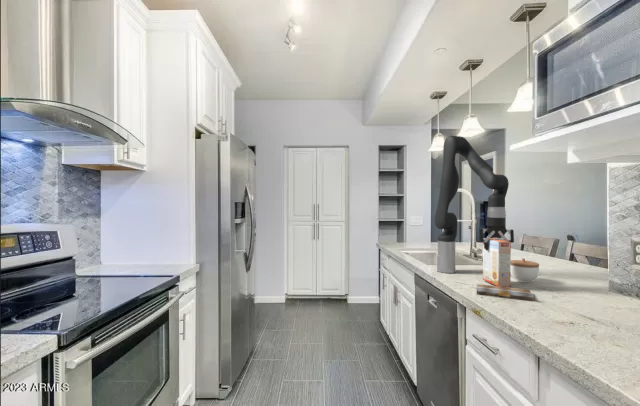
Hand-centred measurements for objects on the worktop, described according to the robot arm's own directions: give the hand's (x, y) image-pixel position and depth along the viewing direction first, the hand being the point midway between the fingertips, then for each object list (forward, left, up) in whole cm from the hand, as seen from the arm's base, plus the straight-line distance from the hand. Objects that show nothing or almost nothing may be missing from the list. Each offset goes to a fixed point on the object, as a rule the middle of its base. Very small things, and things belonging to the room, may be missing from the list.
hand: (496, 250), depth 146 cm
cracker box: (0, 0, -16) cm, 16 cm away
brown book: (+2, -16, -16) cm, 23 cm away
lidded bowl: (+12, +14, -16) cm, 25 cm away
